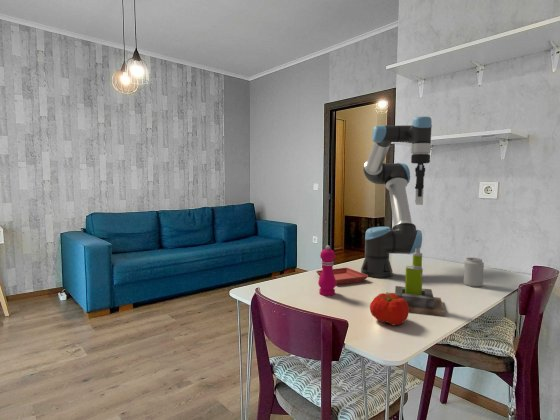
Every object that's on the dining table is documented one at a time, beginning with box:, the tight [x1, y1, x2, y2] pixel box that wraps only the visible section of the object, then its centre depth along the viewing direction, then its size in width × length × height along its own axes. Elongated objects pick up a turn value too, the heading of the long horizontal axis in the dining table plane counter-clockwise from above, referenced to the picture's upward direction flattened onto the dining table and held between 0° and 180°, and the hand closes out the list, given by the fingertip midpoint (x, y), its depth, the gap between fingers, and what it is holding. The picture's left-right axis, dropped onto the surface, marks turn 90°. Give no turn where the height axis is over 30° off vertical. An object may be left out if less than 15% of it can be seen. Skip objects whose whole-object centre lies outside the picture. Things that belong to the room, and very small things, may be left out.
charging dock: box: [385, 285, 446, 317], centre depth 133 cm, size 20×16×5 cm
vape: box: [404, 248, 424, 295], centre depth 133 cm, size 4×6×20 cm, turn 44°
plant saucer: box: [315, 267, 368, 286], centre depth 169 cm, size 18×18×3 cm
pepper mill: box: [317, 244, 337, 297], centre depth 146 cm, size 7×7×20 cm
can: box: [463, 257, 485, 288], centre depth 160 cm, size 8×8×12 cm
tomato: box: [369, 292, 410, 326], centre depth 118 cm, size 13×12×8 cm
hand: (418, 203), depth 156 cm, fingers open, 13 cm apart
